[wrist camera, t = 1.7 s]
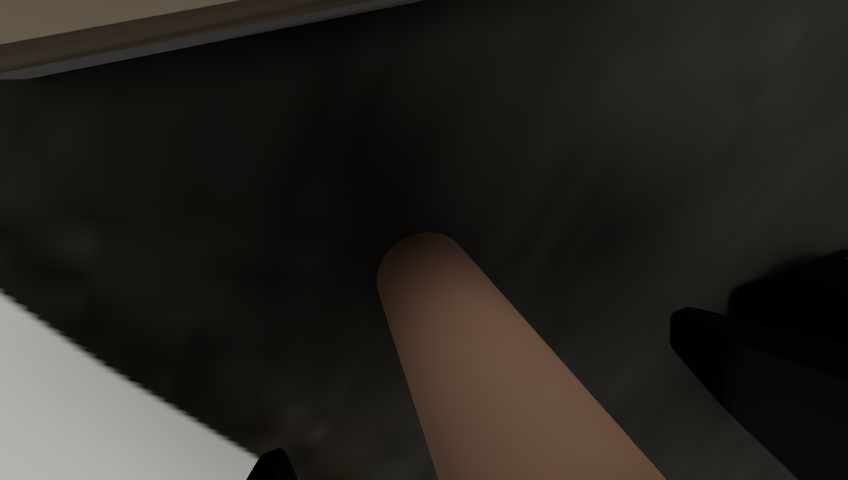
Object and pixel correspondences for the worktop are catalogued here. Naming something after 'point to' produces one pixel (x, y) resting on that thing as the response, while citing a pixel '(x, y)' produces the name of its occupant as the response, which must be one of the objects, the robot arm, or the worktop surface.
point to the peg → (492, 377)
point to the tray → (142, 27)
